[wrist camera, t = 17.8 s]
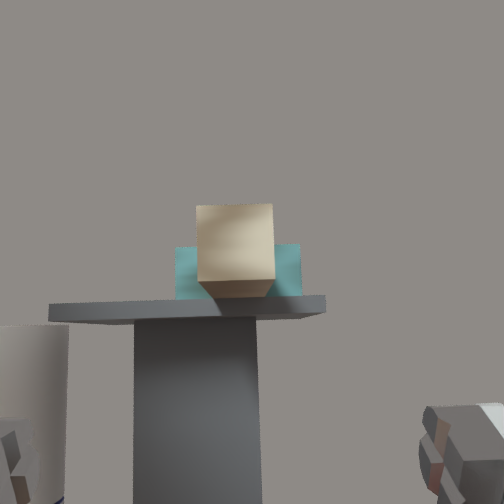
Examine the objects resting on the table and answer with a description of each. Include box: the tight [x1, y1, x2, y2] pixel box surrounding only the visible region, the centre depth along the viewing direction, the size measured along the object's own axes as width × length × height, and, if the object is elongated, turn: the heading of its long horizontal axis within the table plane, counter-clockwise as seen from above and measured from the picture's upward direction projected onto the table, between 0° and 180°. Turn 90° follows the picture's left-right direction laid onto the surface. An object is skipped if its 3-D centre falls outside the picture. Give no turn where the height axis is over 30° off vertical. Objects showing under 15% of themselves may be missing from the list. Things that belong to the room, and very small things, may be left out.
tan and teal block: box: [175, 204, 302, 300], centre depth 29 cm, size 8×20×4 cm, turn 1°
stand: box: [48, 295, 326, 504], centre depth 33 cm, size 16×14×26 cm
